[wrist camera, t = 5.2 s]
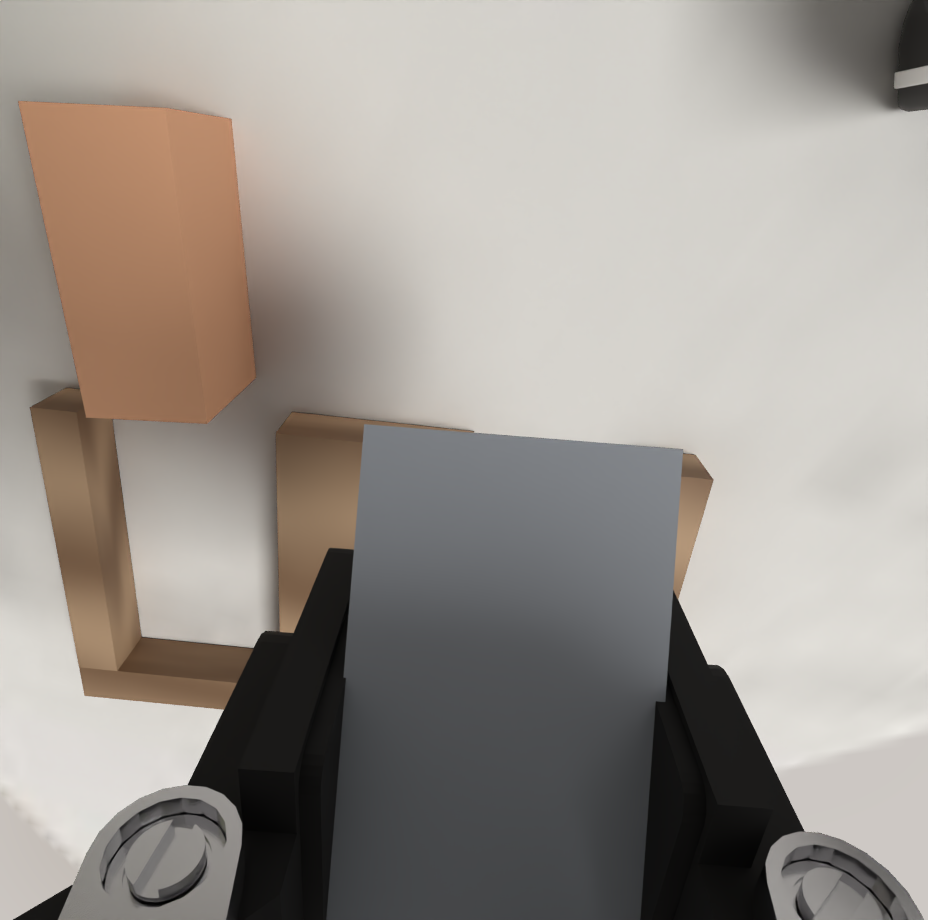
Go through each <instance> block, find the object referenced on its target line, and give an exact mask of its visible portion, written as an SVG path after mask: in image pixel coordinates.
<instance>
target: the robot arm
mask: <svg viewBox="0 0 928 920" xmlns="http://www.w3.org/2000/svg"><path fill="white" fill-rule="evenodd" d="M353 555H354V549H341V548H329V549H328V551H327V553H326V556H325V558H324V560H323V563H322V565H321V568H320V570H319V572H318V575H317V577H316V580H315V582H314V585H313V587H312V589H311V592H310V594H309V597H308V599H307V602H306V604H305V606H304V609H303V611H302V614H301V616H300V619H299V621H298V623H297V626H296V628H295V631H294V633H287V632H274V631H265V632H264V633H262V634H261V636H260V637H259V639H258V641H257V643H256V645H255V647H254V649H253V651H252V653H251V655H250V657H249V659H248V661H247V663H246V665H245V667H244V669H243V672H242V674H241V676H240V678H239V680H238V682H237V684H236V686H235V688H234V690H233V692H232V694H231V696H230V698H229V701H228V703H227V705H226V707H225V709H224V711H223V713H222V715H221V717H220V719H219V721H218V723H217V725H216V727H215V730H214V732H213V734H212V736H211V738H210V740H209V742H208V744H207V746H206V748H205V750H204V752H203V754H202V756H201V758H200V761H199V763H198V765H197V767H196V769H195V771H194V773H193V775H192V777H191V779H190V781H189V783H188V785H183V786H178V787H172V788H166V789H161V790H159V791H157V792H154V793H152V794H149V795H147V796H144V797H142V798H139V799H138V800H136V801H135V802H133V803H132V804H130V805H129V806H127V807H126V808H124V809H123V810H121V811H120V812H118V813H117V814H116V815H115V816H114V817H113V818H112V819H111V820H110V821H109V822H108V823H107V824H106V826H105V827H104V828H103V829H102V830H101V831H100V832H99V833H98V835H97V837H96V838H95V840H94V842H93V843H92V845H91V847H90V848H89V850H88V852H87V853H86V856H85V858H84V860H83V863H82V865H81V867H80V870H79V872H78V874H77V877H76V879H75V881H74V884H73V885H71V886H70V887H68V888H66V889H65V890H63V891H61V892H59V893H58V894H56V895H54V896H53V897H51V898H49V899H48V900H46V901H44V902H42V903H41V904H39V905H37V906H35V907H34V908H32V909H30V910H29V911H27V912H25V913H24V914H22V915H20V916H19V917H17V918H15V919H13V920H326V916H327V904H328V892H329V879H330V867H331V855H332V843H333V830H334V818H335V806H336V793H337V781H338V769H339V757H340V744H341V732H342V720H343V707H344V695H345V683H346V678H343V676H344V664H345V652H346V640H347V628H348V616H349V603H350V591H351V579H352V567H353ZM640 920H924V919H923V917H922V915H921V913H920V911H919V910H918V908H917V906H916V905H915V903H914V901H913V900H912V898H911V897H910V895H909V893H908V892H907V891H906V889H905V888H904V887H903V886H902V885H901V884H900V883H899V882H898V881H897V880H896V878H895V877H894V876H893V875H892V874H891V873H890V872H889V871H888V870H887V869H886V868H884V867H883V866H882V865H881V864H879V863H878V862H877V861H876V860H874V859H873V858H872V857H871V856H869V855H868V854H867V853H865V852H863V851H862V850H859V849H858V848H856V847H854V846H852V845H851V844H849V843H847V842H845V841H843V840H841V839H838V838H834V837H831V836H828V835H825V834H822V833H815V832H814V833H813V832H805V831H804V829H803V827H802V825H801V823H800V821H799V819H798V818H797V815H796V813H795V811H794V809H793V807H792V805H791V803H790V801H789V799H788V797H787V795H786V793H785V791H784V789H783V787H782V784H781V782H780V780H779V778H778V776H777V774H776V772H775V770H774V768H773V766H772V764H771V762H770V760H769V758H768V756H767V754H766V752H765V750H764V748H763V746H762V744H761V742H760V739H759V737H758V735H757V733H756V731H755V729H754V727H753V725H752V723H751V721H750V719H749V717H748V715H747V713H746V711H745V709H744V707H743V705H742V703H741V701H740V699H739V697H738V694H737V692H736V690H735V688H734V686H733V684H732V682H731V680H730V678H729V676H728V675H727V673H726V672H725V670H724V669H723V668H721V667H720V666H718V665H708V664H707V662H706V660H705V658H704V656H703V653H702V651H701V649H700V647H699V645H698V643H697V640H696V638H695V636H694V634H693V632H692V629H691V627H690V625H689V623H688V621H687V619H686V616H685V614H684V612H683V610H682V608H681V605H680V603H679V601H678V599H677V597H676V594H675V592H674V590H673V600H672V614H671V628H670V642H669V656H668V671H667V685H666V699H665V702H658V701H656V705H655V719H654V733H653V747H652V762H651V776H650V790H649V804H648V818H647V832H646V846H645V860H644V875H643V889H642V903H641V917H640Z"/></svg>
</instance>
